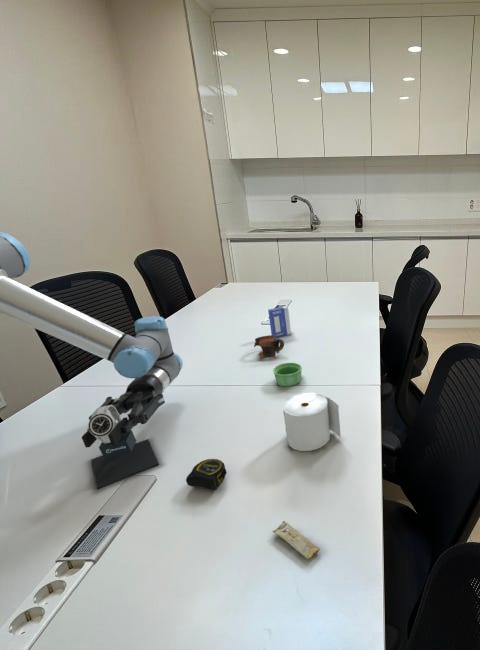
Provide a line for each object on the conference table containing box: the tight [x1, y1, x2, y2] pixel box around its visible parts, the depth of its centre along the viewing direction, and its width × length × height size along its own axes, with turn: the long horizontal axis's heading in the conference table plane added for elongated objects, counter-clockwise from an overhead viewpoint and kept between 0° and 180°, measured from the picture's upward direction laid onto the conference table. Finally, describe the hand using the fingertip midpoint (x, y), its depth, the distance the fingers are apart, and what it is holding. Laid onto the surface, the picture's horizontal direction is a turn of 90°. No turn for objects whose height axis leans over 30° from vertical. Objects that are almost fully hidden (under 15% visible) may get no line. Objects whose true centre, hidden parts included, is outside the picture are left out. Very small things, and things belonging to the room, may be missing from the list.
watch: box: [87, 405, 137, 459], centre depth 86 cm, size 6×8×11 cm
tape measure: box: [185, 458, 228, 491], centre depth 82 cm, size 7×7×4 cm
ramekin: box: [272, 362, 303, 387], centre depth 124 cm, size 9×9×4 cm
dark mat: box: [90, 438, 160, 490], centre depth 89 cm, size 12×12×1 cm
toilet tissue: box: [282, 392, 342, 452], centre depth 95 cm, size 11×12×10 cm
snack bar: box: [272, 520, 321, 559], centre depth 68 cm, size 10×2×3 cm
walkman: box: [267, 305, 292, 339], centre depth 160 cm, size 8×3×12 cm, turn 126°
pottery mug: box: [253, 334, 285, 360], centre depth 144 cm, size 12×10×8 cm
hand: (98, 441), depth 81 cm, fingers closed on watch, 5 cm apart
